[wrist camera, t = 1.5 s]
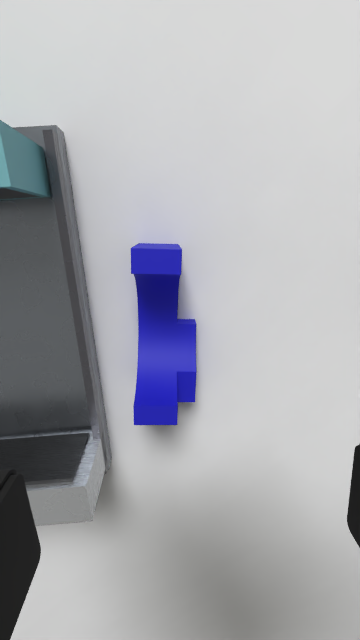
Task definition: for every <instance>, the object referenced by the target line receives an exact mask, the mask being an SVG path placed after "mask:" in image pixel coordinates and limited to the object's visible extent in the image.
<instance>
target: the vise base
mask: <svg viewBox="0 0 360 640" xmlns="http://www.w3.org/2000/svg"><path fill="white" fill-rule="evenodd" d="M13 129H15V130H16V131H18V132H19V133H21V134H23V135H24V136H26V137H27V138H29V139H30V140H32V141H33V142H35V143H36V144H38V145H39V146H41V147H43V151H44V157H45V163H46V169H47V175H48V181H49V187H50V193H51V197H43V198H27V199H11V200H0V470H9V469H15V470H16V471H17V474H21V475H22V476H23V478H24V482H25V486H26V490H27V494H28V498H29V502H30V506H31V510H32V515H33V519H34V523H35V526H40V525H51V524H63V523H74V522H86V521H92V520H93V516H94V512H95V508H96V504H97V500H98V496H99V492H100V488H101V484H102V480H103V476H104V473H106V472H107V470H109V467H110V463H111V458H112V457H111V450H110V443H109V436H108V430H107V423H106V416H105V409H104V403H103V396H102V389H101V383H100V376H99V369H98V362H97V356H96V349H95V342H94V335H93V329H92V322H91V315H90V309H89V302H88V295H87V288H86V282H85V275H84V268H83V261H82V255H81V248H80V241H79V234H78V228H77V221H76V214H75V208H74V201H73V194H72V187H71V181H70V174H69V167H68V160H67V154H66V147H65V140H64V133H63V131H62V130H61V129H60V128H58V127H57V126H56V125H51V126H34V127H16V128H13Z"/></svg>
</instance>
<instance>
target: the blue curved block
mask: <svg viewBox="0 0 360 640" xmlns="http://www.w3.org/2000/svg"><path fill="white" fill-rule="evenodd" d="M181 261H182V249H181V247H180V246H179V245H178V244H145V243H139V244H137V245H135V246H134V247H132V248H131V274H134V276H135V280H136V286H137V297H138V321H139V341H138V369H137V383H136V393H135V401H134V425H177V411H178V403H177V402H195V387H196V322H195V319H177V310H178V289H179V278H180V275H181Z"/></svg>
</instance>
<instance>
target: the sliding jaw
mask: <svg viewBox="0 0 360 640" xmlns="http://www.w3.org/2000/svg"><path fill="white" fill-rule="evenodd" d="M43 197H51V193H50V187H49V181H48V175H47V169H46V163H45V157H44V151H43V147H41V146H39V145H38V144H36V143H35V142H33V141H32V140H30V139H29V138H27V137H26V136H24V135H23V134H21V133H19V132H18V131H16V130H15V129H13V128H12V127H10V126H9V125H7V124H6V123H4V122H2V121H1V120H0V200H11V199H27V198H43Z"/></svg>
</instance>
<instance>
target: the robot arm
mask: <svg viewBox="0 0 360 640" xmlns="http://www.w3.org/2000/svg"><path fill="white" fill-rule="evenodd" d="M347 522H348V527H349V530H350V532H351V534H352V536H353V537H354V539H355V541H356V542H357V544H358V545H359V547H360V445H358V446H356V447H355V452H354V461H353V470H352V479H351V488H350V497H349V506H348V515H347ZM40 553H41V548H40V543H39V539H38V535H37V531H36V527H35V523H34V519H33V515H32V510H31V506H30V502H29V498H28V494H27V490H26V486H25V482H24V478H23V476H22V475H21V474H17V471H16V470H15V469H9V470H0V640H10V638H11V635H12V633H13V630H14V627H15V625H16V622H17V619H18V617H19V614H20V611H21V609H22V606H23V603H24V601H25V598H26V595H27V593H28V590H29V587H30V585H31V582H32V579H33V577H34V574H35V571H36V569H37V566H38V563H39V560H40Z"/></svg>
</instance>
